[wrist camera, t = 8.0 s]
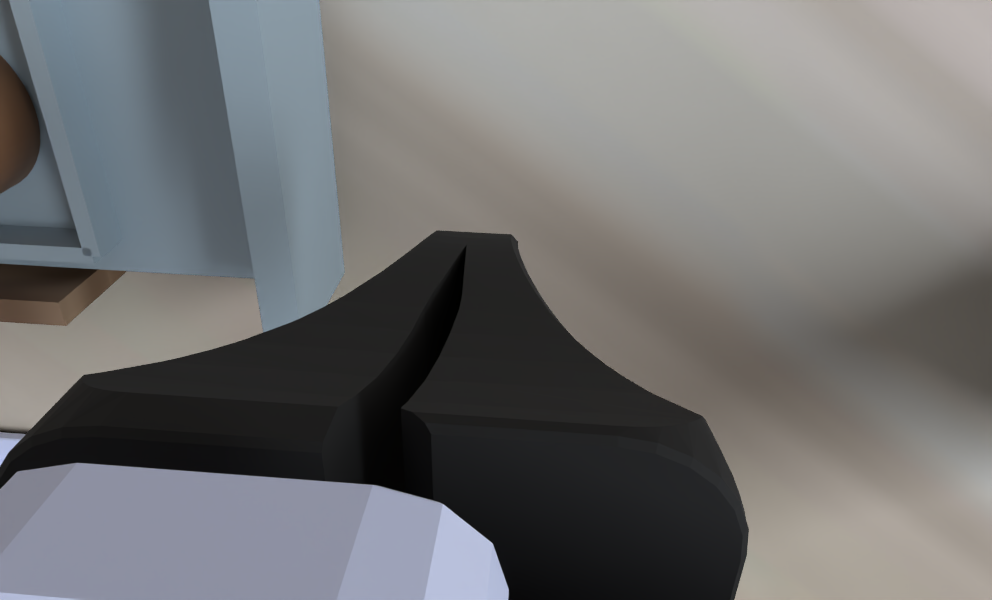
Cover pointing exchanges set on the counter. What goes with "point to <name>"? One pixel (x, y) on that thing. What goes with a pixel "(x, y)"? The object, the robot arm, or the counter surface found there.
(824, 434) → the counter surface
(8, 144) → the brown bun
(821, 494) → the counter surface
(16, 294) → the caddy
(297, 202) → the tray
